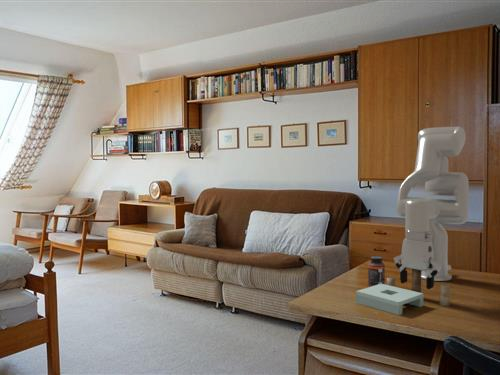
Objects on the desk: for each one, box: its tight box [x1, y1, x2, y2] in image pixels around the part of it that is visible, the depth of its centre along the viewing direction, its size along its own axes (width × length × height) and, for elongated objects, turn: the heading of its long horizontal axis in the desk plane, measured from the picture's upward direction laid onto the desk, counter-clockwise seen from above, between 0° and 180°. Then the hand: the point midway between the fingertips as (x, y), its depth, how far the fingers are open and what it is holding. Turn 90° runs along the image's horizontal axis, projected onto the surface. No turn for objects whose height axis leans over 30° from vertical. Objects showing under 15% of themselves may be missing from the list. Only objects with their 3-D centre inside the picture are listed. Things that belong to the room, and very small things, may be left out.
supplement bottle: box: [367, 255, 386, 287], centre depth 167 cm, size 6×6×11 cm
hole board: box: [355, 283, 424, 316], centre depth 147 cm, size 14×16×4 cm
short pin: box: [386, 276, 396, 287], centre depth 161 cm, size 3×3×5 cm
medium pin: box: [439, 283, 451, 307], centre depth 146 cm, size 3×3×6 cm
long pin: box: [411, 269, 422, 293], centre depth 153 cm, size 3×3×10 cm
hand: (416, 285), depth 153 cm, fingers open, 9 cm apart
